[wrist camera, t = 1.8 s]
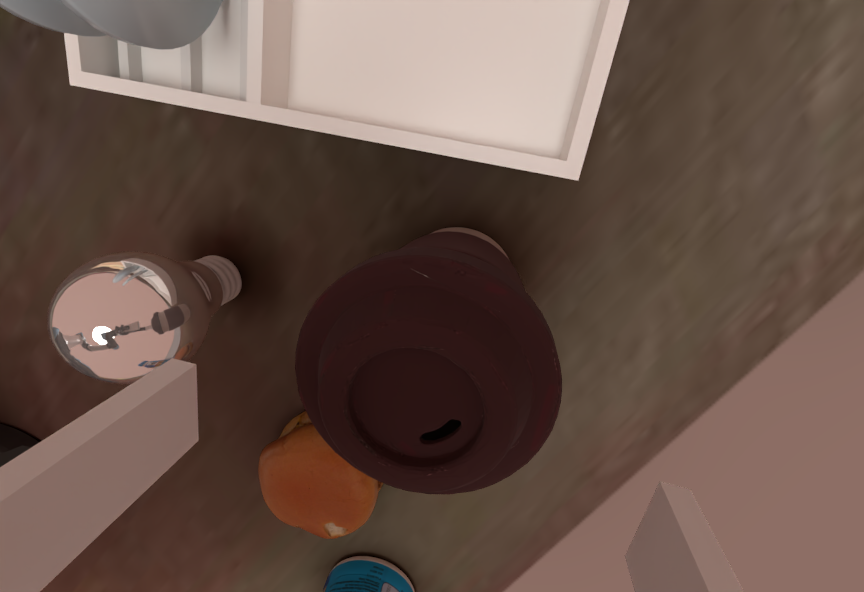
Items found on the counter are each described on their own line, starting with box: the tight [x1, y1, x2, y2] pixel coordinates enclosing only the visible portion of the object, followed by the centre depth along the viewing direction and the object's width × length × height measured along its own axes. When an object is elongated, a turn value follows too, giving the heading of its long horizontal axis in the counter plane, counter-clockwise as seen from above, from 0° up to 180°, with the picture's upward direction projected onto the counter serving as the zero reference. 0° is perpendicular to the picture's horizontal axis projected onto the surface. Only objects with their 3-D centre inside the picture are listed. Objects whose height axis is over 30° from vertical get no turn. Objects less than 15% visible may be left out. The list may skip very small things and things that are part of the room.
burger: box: [258, 411, 383, 539], centre depth 33 cm, size 10×9×5 cm
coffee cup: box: [295, 227, 562, 494], centre depth 21 cm, size 10×10×15 cm
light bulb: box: [47, 251, 242, 384], centre depth 25 cm, size 7×7×12 cm
